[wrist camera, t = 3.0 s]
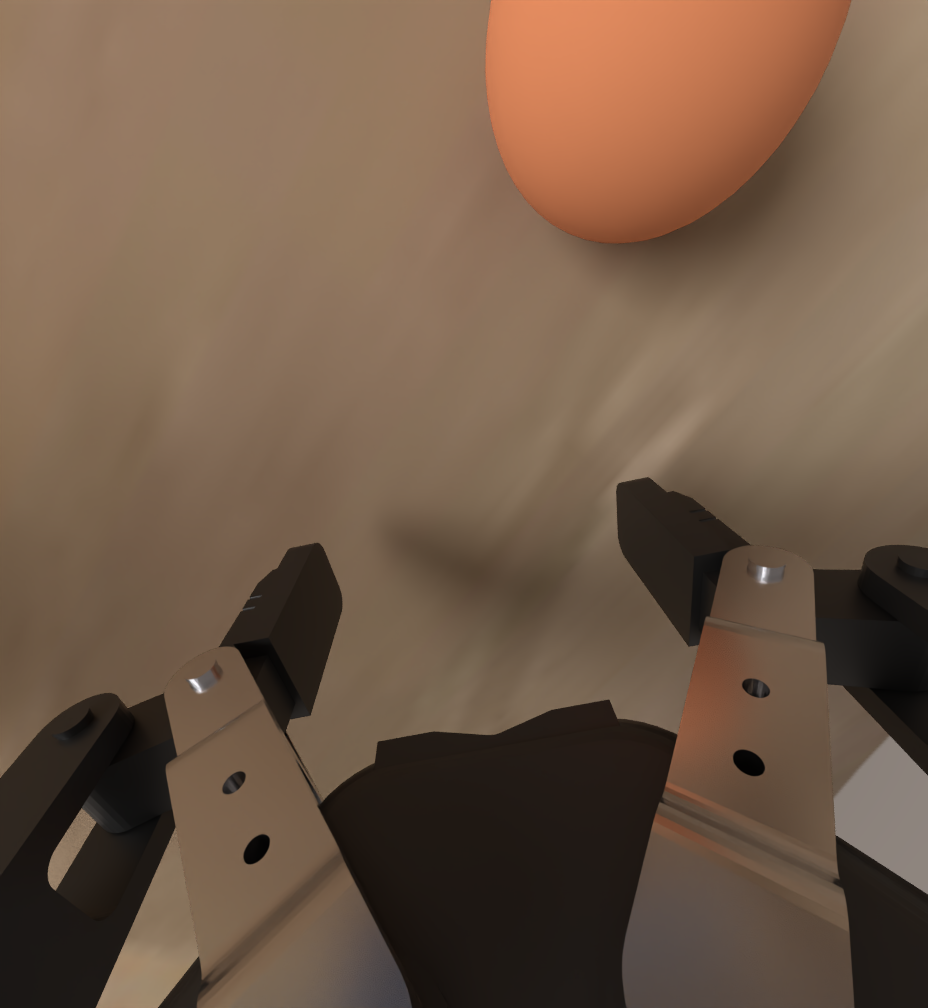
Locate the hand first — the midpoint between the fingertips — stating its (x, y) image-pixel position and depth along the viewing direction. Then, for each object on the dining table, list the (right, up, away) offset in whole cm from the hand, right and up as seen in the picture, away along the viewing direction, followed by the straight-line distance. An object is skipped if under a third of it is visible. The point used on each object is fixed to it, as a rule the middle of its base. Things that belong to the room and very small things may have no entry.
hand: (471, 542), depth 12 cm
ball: (+3, +9, -4) cm, 10 cm away
